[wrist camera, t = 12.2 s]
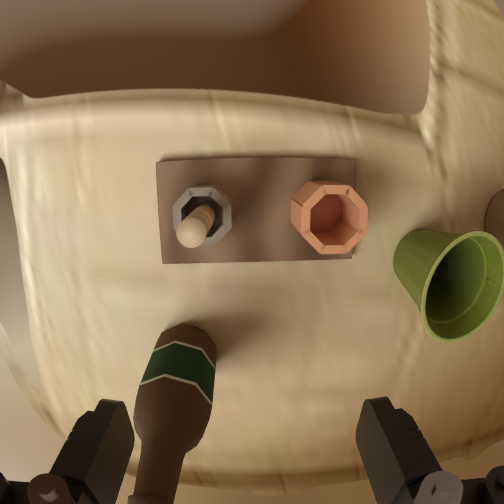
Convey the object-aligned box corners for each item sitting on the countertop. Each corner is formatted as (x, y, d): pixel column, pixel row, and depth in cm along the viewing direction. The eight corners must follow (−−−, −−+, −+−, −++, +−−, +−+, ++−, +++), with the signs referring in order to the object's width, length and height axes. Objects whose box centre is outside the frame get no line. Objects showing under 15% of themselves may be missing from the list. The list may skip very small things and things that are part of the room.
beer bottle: (213, 319, 38) (191, 496, 15) (221, 371, 40) (212, 539, 17) (151, 322, 38) (79, 482, 15) (163, 373, 40) (119, 530, 17)
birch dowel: (217, 201, 33) (204, 218, 24) (218, 222, 34) (206, 247, 24) (196, 202, 33) (175, 219, 24) (197, 222, 34) (177, 248, 24)
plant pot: (384, 314, 39) (424, 361, 28) (367, 227, 36) (414, 254, 25) (455, 282, 38) (505, 317, 27) (446, 199, 35) (505, 216, 24)
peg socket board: (352, 159, 34) (365, 159, 30) (349, 256, 36) (360, 267, 33) (158, 162, 33) (148, 162, 29) (164, 261, 36) (156, 272, 32)
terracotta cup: (347, 181, 33) (368, 186, 27) (345, 238, 35) (365, 252, 29) (290, 180, 33) (301, 184, 27) (290, 239, 35) (300, 254, 29)
